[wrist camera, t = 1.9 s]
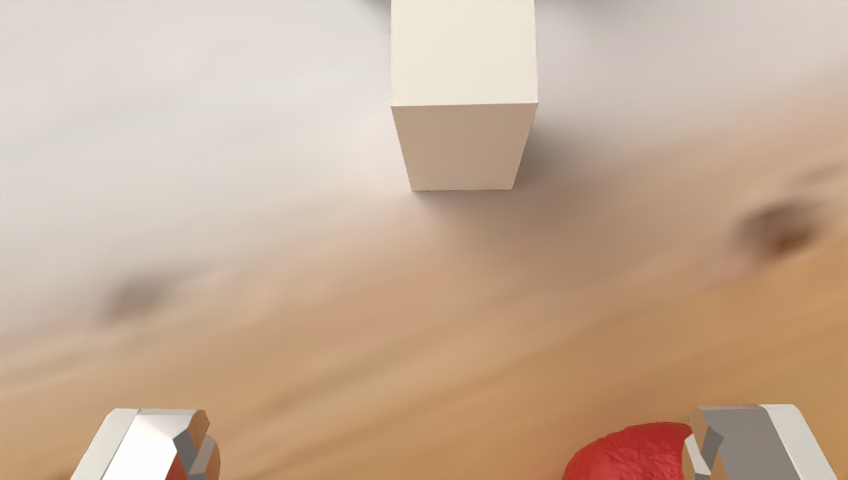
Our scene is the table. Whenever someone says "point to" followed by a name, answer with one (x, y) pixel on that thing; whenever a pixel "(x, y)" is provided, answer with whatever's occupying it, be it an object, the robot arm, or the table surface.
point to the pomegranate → (633, 454)
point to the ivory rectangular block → (463, 90)
